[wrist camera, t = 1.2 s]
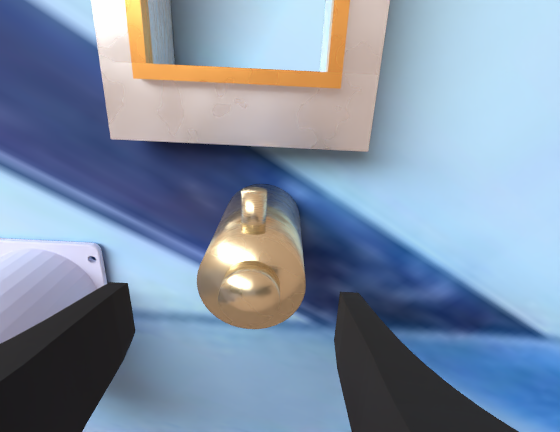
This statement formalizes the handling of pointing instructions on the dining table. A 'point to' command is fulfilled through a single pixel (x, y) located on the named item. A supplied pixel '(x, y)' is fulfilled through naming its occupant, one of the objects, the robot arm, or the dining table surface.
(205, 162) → the dining table surface
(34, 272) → the robot arm
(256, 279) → the spout can
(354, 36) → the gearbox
